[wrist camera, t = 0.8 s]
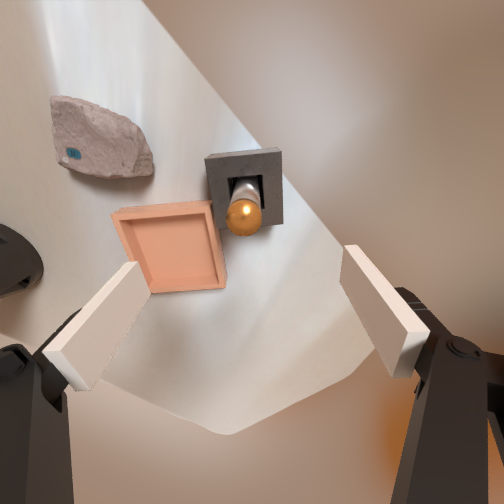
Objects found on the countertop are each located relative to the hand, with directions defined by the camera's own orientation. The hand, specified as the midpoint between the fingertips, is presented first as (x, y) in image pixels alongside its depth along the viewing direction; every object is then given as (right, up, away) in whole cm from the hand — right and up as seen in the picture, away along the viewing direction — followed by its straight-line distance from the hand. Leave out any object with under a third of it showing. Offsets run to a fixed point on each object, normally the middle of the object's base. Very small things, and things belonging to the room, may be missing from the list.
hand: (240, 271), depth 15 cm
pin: (0, +12, +22) cm, 25 cm away
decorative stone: (-21, +18, +19) cm, 34 cm away
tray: (-13, +3, +28) cm, 30 cm away
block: (0, +12, +22) cm, 25 cm away
